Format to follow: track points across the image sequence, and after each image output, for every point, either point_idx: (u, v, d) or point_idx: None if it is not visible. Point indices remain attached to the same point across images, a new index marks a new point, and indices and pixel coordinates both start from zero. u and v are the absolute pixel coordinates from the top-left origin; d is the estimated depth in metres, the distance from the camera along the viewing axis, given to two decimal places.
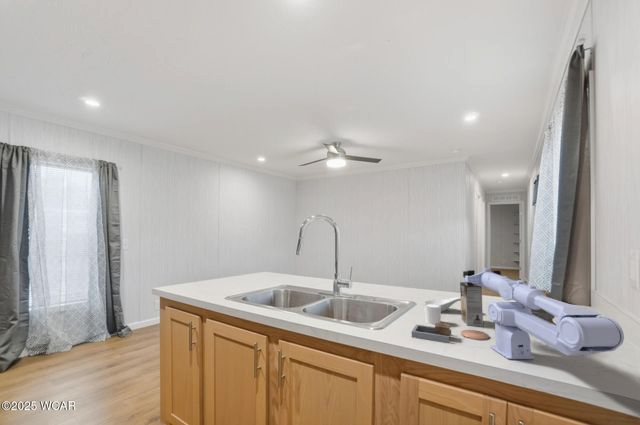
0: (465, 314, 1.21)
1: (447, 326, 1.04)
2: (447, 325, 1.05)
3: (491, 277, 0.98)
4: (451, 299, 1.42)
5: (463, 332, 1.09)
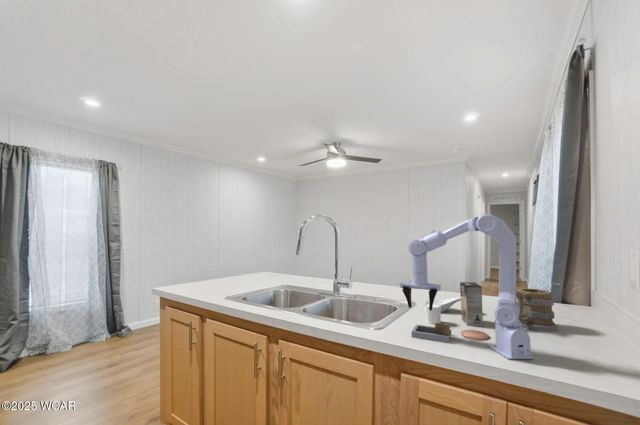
0: (465, 314, 1.21)
1: (447, 326, 1.04)
2: (447, 325, 1.05)
3: (412, 269, 1.10)
4: (452, 299, 1.42)
5: (463, 332, 1.09)
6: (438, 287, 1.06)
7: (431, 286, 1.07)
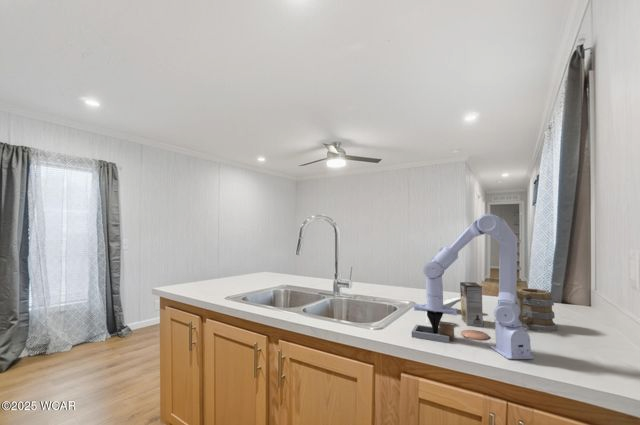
0: (465, 314, 1.21)
1: (451, 326, 1.04)
2: (451, 325, 1.05)
3: (427, 292, 1.07)
4: (453, 299, 1.42)
5: (463, 332, 1.09)
6: (454, 311, 1.03)
7: (447, 310, 1.04)
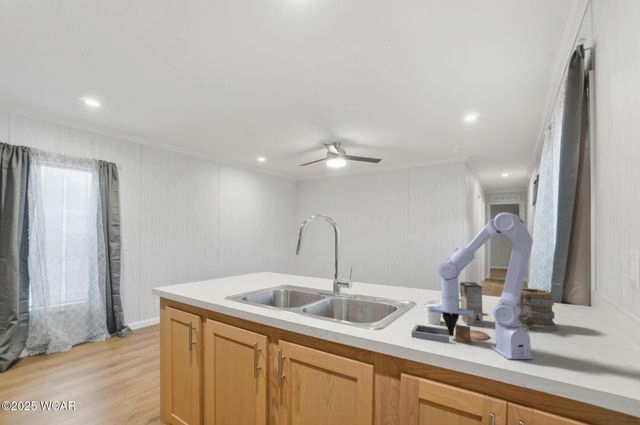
0: None
1: (468, 329, 1.01)
2: (468, 327, 1.02)
3: (442, 293, 1.05)
4: None
5: None
6: (471, 313, 1.01)
7: (464, 312, 1.01)
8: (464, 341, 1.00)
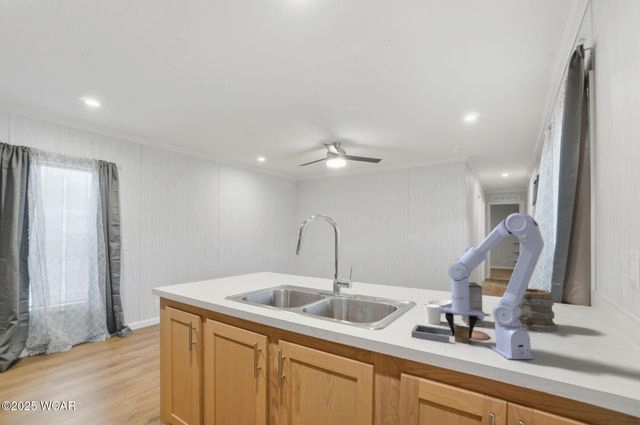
0: None
1: (467, 329, 1.01)
2: (467, 327, 1.02)
3: (452, 294, 1.04)
4: None
5: None
6: (482, 314, 0.99)
7: (474, 313, 1.00)
8: (463, 341, 1.00)
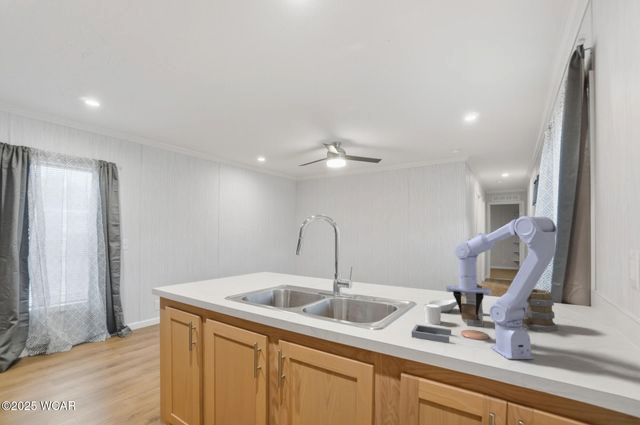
0: None
1: (474, 306, 1.05)
2: (473, 305, 1.06)
3: None
4: None
5: (463, 332, 1.09)
6: (489, 291, 1.03)
7: (481, 290, 1.03)
8: (470, 318, 1.04)
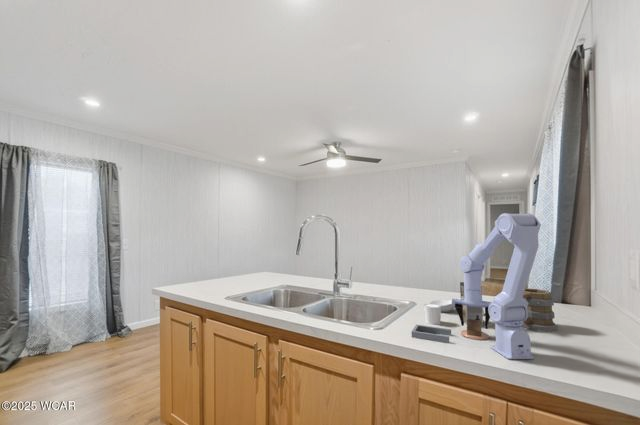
0: (465, 314, 1.21)
1: (479, 322, 1.06)
2: (479, 321, 1.07)
3: (464, 285, 1.10)
4: None
5: (463, 332, 1.09)
6: None
7: (487, 304, 1.05)
8: (475, 334, 1.05)
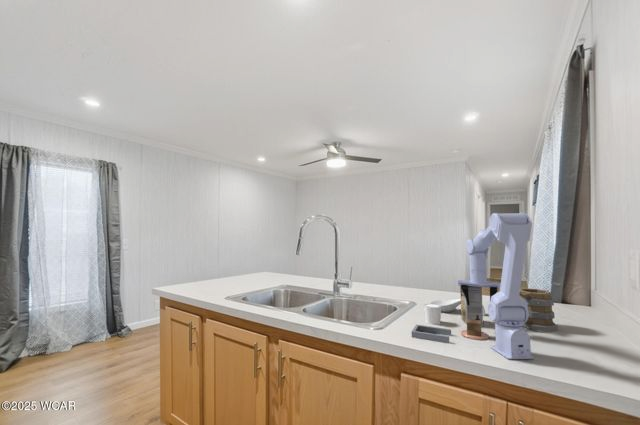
0: (465, 314, 1.21)
1: (479, 322, 1.06)
2: (479, 321, 1.07)
3: None
4: (458, 300, 1.41)
5: (463, 332, 1.09)
6: (499, 285, 1.10)
7: (491, 284, 1.10)
8: (475, 334, 1.05)
